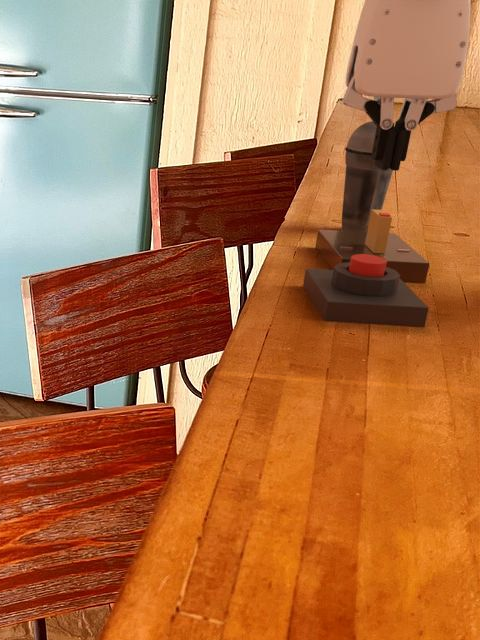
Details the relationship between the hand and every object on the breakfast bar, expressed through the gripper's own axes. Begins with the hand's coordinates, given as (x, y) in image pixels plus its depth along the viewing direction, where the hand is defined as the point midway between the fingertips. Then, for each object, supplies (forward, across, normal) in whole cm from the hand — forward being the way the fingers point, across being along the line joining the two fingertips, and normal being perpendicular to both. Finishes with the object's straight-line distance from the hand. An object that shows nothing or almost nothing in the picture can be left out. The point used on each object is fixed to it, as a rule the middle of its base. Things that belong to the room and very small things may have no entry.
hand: (386, 167), depth 91 cm
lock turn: (+13, -5, -15) cm, 20 cm away
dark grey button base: (+15, 0, 0) cm, 15 cm away
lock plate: (+15, -5, -17) cm, 23 cm away
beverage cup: (+15, -8, -34) cm, 38 cm away
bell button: (+12, 0, 0) cm, 12 cm away
